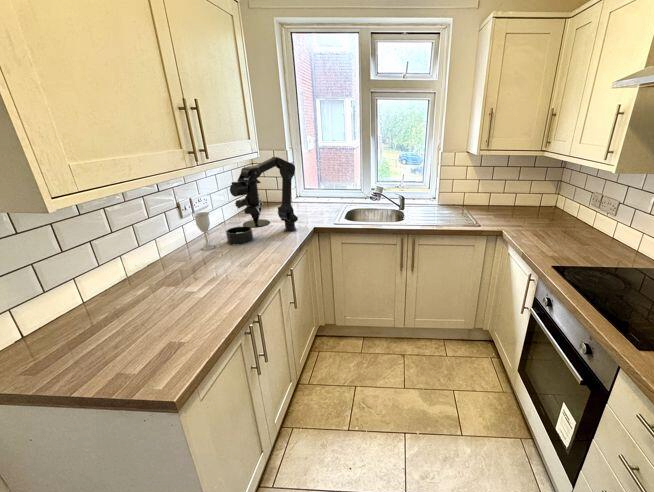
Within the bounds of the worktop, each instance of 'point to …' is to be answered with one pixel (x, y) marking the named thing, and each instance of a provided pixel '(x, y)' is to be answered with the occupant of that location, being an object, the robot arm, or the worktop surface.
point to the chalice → (203, 227)
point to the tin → (239, 235)
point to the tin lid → (256, 225)
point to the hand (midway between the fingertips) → (256, 222)
